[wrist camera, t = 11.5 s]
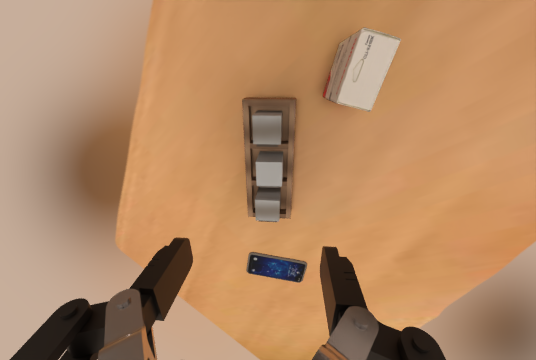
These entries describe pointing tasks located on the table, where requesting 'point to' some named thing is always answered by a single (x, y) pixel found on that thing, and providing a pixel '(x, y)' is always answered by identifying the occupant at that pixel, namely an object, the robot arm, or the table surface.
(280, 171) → the grey cube
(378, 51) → the ink box
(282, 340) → the table surface
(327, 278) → the robot arm
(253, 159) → the wooden compartment tray
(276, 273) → the smartphone
